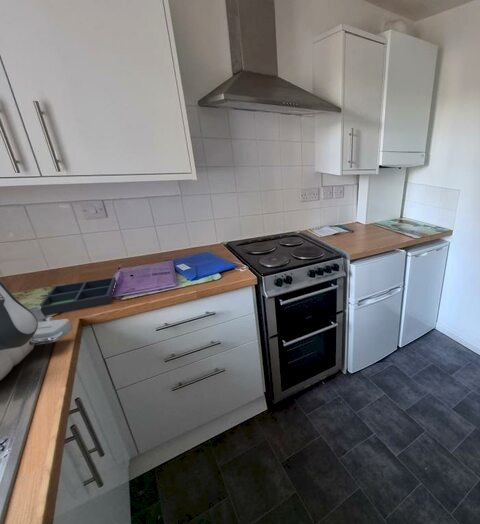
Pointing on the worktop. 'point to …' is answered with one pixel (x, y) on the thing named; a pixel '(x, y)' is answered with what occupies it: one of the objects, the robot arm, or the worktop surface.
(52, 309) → the grid
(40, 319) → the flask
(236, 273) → the worktop surface
